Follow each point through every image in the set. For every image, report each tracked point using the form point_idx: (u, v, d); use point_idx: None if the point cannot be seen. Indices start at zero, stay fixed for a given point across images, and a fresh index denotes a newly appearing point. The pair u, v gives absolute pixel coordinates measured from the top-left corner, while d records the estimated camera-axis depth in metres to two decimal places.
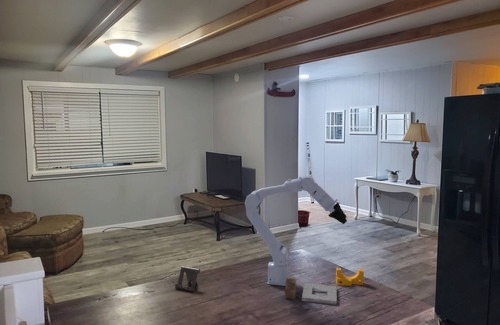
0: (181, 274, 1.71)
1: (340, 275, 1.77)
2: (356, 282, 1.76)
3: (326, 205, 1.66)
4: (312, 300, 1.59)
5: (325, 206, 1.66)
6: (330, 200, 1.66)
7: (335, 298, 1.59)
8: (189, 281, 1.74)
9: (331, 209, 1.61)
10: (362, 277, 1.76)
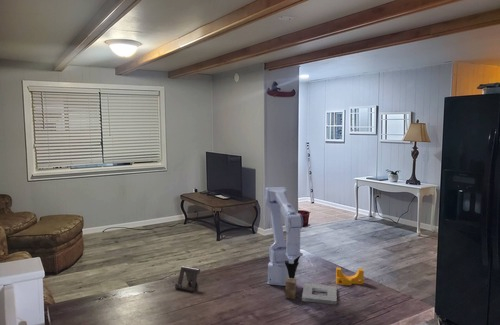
0: (181, 274, 1.71)
1: (340, 275, 1.77)
2: (356, 281, 1.77)
3: (290, 252, 1.59)
4: (312, 300, 1.59)
5: (289, 252, 1.59)
6: (297, 251, 1.59)
7: (335, 298, 1.59)
8: (189, 281, 1.74)
9: (292, 261, 1.54)
10: (362, 276, 1.76)
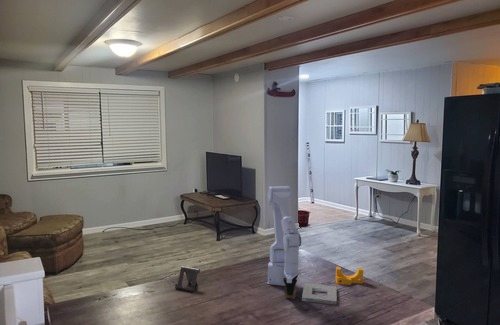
0: (181, 274, 1.71)
1: (340, 274, 1.78)
2: (356, 281, 1.78)
3: (288, 271, 1.60)
4: (312, 300, 1.59)
5: (287, 270, 1.60)
6: (295, 270, 1.60)
7: (335, 298, 1.59)
8: (189, 281, 1.74)
9: (289, 280, 1.55)
10: (362, 276, 1.77)
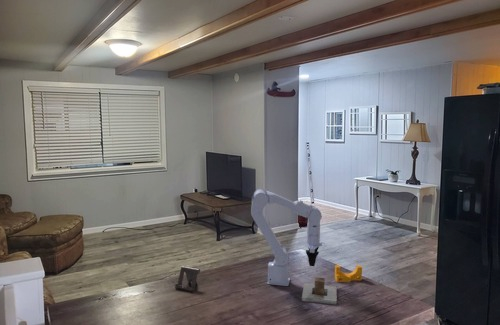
0: (181, 274, 1.71)
1: (339, 272, 1.80)
2: (355, 278, 1.80)
3: (311, 242, 1.73)
4: (312, 300, 1.59)
5: (309, 242, 1.73)
6: (317, 241, 1.73)
7: (335, 298, 1.59)
8: (189, 281, 1.74)
9: (312, 250, 1.68)
10: (360, 273, 1.80)
